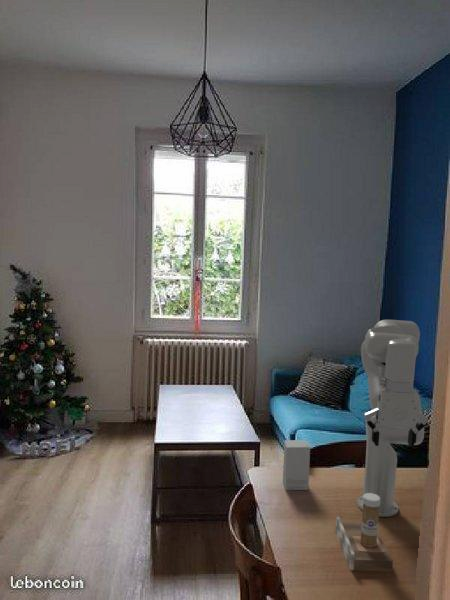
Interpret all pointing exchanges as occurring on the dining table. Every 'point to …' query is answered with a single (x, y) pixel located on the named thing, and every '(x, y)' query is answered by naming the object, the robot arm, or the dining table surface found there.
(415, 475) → the dining table surface
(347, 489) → the dining table surface
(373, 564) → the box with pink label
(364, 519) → the sprinkles bottle
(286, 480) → the skincare box
